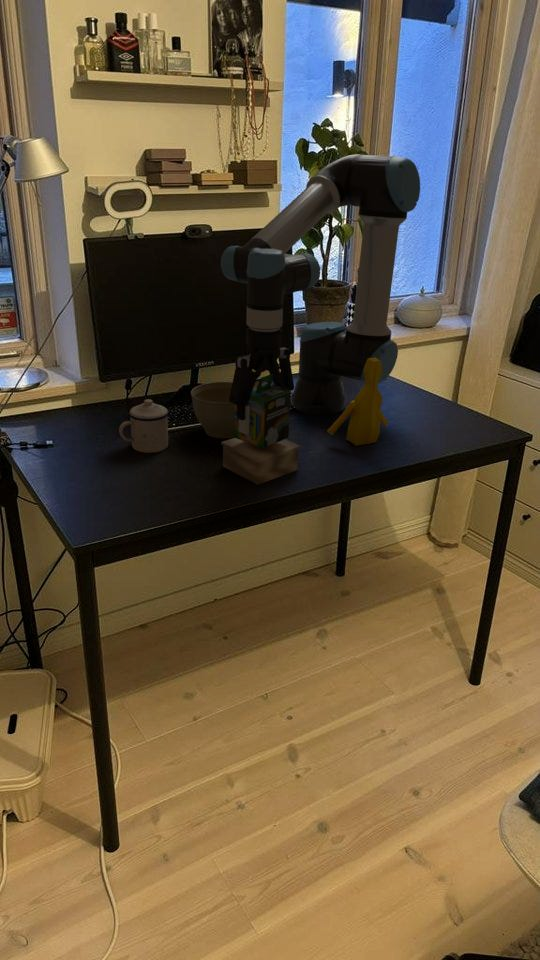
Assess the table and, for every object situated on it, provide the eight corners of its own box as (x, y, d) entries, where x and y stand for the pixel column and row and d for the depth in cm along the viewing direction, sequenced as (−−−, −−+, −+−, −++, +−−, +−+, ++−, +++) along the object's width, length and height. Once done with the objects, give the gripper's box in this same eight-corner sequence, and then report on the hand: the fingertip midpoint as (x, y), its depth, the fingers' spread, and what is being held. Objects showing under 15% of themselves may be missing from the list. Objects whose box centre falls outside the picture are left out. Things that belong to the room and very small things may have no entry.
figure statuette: (381, 431, 188) (390, 348, 179) (399, 442, 182) (409, 357, 172) (322, 441, 181) (328, 355, 171) (338, 453, 175) (345, 365, 165)
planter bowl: (238, 417, 194) (239, 378, 190) (266, 438, 182) (267, 397, 177) (182, 426, 187) (181, 385, 183) (207, 449, 175) (206, 406, 170)
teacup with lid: (159, 436, 181) (158, 391, 176) (175, 449, 174) (174, 403, 169) (113, 445, 175) (110, 399, 170) (128, 459, 168) (125, 411, 163)
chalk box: (258, 427, 168) (260, 365, 162) (290, 437, 163) (293, 374, 157) (232, 438, 162) (232, 374, 155) (263, 449, 157) (265, 384, 150)
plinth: (262, 452, 174) (263, 429, 171) (299, 470, 165) (300, 445, 163) (221, 466, 166) (221, 441, 163) (257, 485, 158) (258, 460, 155)
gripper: (290, 316, 161) (286, 411, 171) (211, 331, 147) (211, 433, 157) (314, 323, 156) (308, 420, 166) (234, 339, 142) (233, 444, 152)
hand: (261, 427), depth 161 cm, fingers closed on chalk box, 9 cm apart
